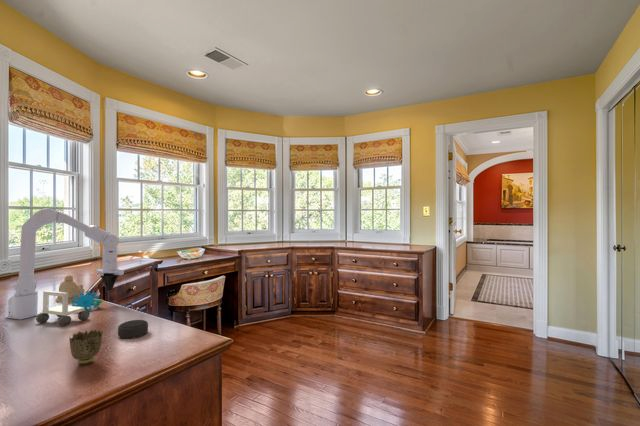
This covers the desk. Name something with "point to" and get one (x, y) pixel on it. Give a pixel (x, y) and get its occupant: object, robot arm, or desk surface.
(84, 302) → the blue green toy
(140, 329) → the smart speaker
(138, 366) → the desk surface
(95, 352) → the cup
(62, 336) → the desk surface
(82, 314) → the cart
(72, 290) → the statue
